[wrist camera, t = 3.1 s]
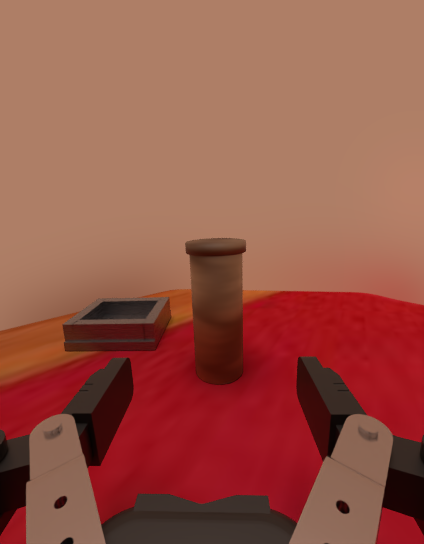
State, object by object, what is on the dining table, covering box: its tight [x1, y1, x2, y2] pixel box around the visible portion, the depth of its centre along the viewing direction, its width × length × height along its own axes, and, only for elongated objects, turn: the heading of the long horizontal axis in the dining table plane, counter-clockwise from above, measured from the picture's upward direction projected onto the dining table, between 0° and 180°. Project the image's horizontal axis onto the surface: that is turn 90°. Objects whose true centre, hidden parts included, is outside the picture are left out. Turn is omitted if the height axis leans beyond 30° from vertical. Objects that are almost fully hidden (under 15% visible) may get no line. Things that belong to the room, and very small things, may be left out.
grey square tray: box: [63, 297, 171, 351], centre depth 32 cm, size 10×9×3 cm
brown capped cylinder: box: [185, 238, 246, 384], centre depth 23 cm, size 5×5×12 cm
